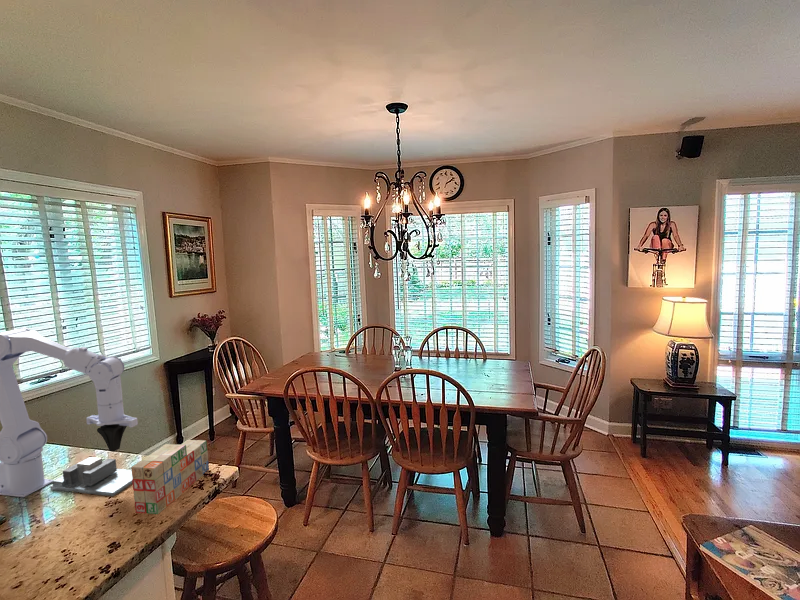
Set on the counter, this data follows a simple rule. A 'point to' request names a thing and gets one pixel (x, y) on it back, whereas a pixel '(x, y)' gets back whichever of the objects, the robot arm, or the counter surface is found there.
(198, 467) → the stack of blocks
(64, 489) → the base
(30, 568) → the counter surface
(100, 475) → the block
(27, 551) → the counter surface
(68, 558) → the counter surface
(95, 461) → the aluminium block
